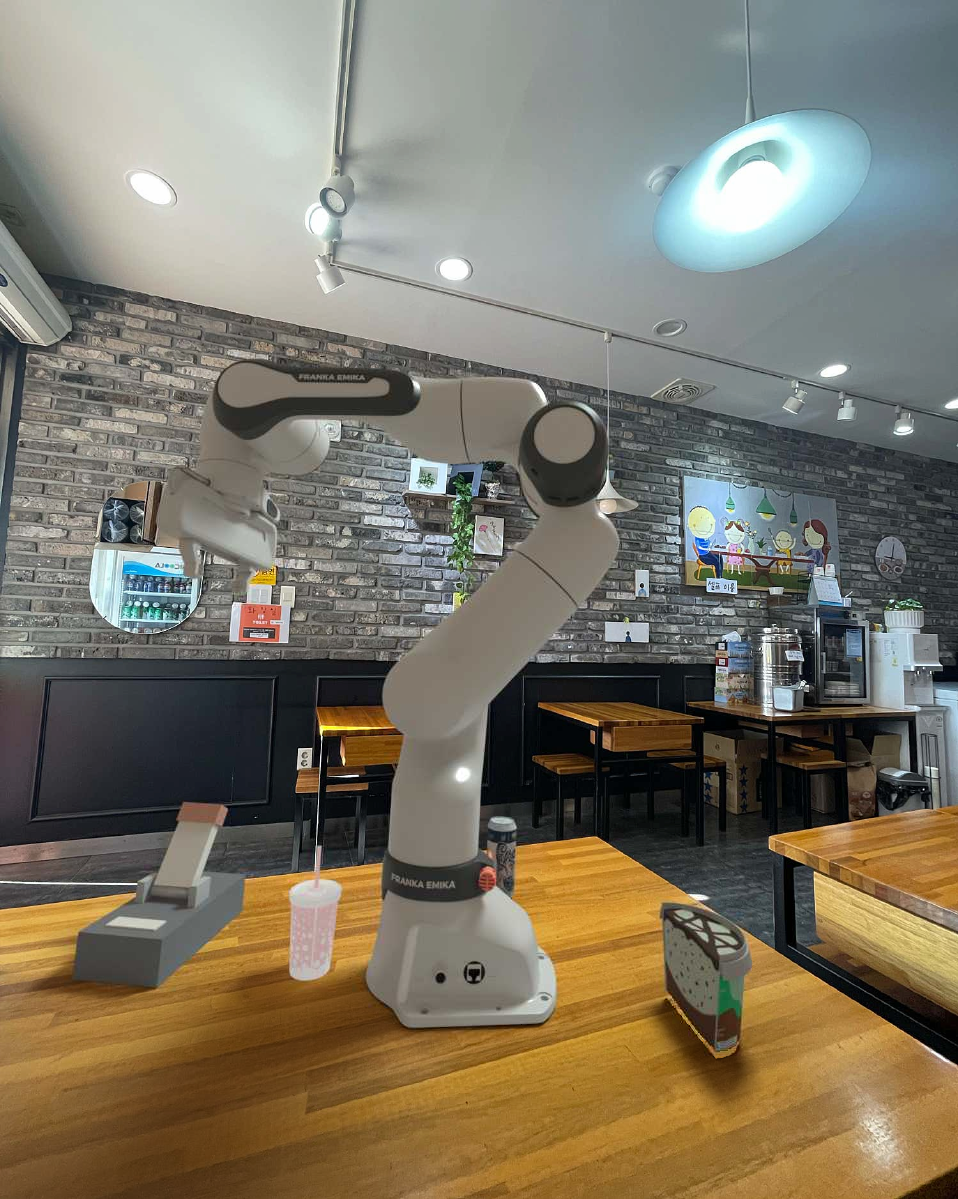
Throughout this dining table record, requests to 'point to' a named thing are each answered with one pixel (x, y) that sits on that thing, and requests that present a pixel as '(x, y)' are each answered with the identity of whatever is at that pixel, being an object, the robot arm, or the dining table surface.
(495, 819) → the beer can
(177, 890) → the lever
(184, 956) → the switch panel
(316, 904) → the beverage cup
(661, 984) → the dining table surface
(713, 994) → the food container
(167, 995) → the dining table surface
